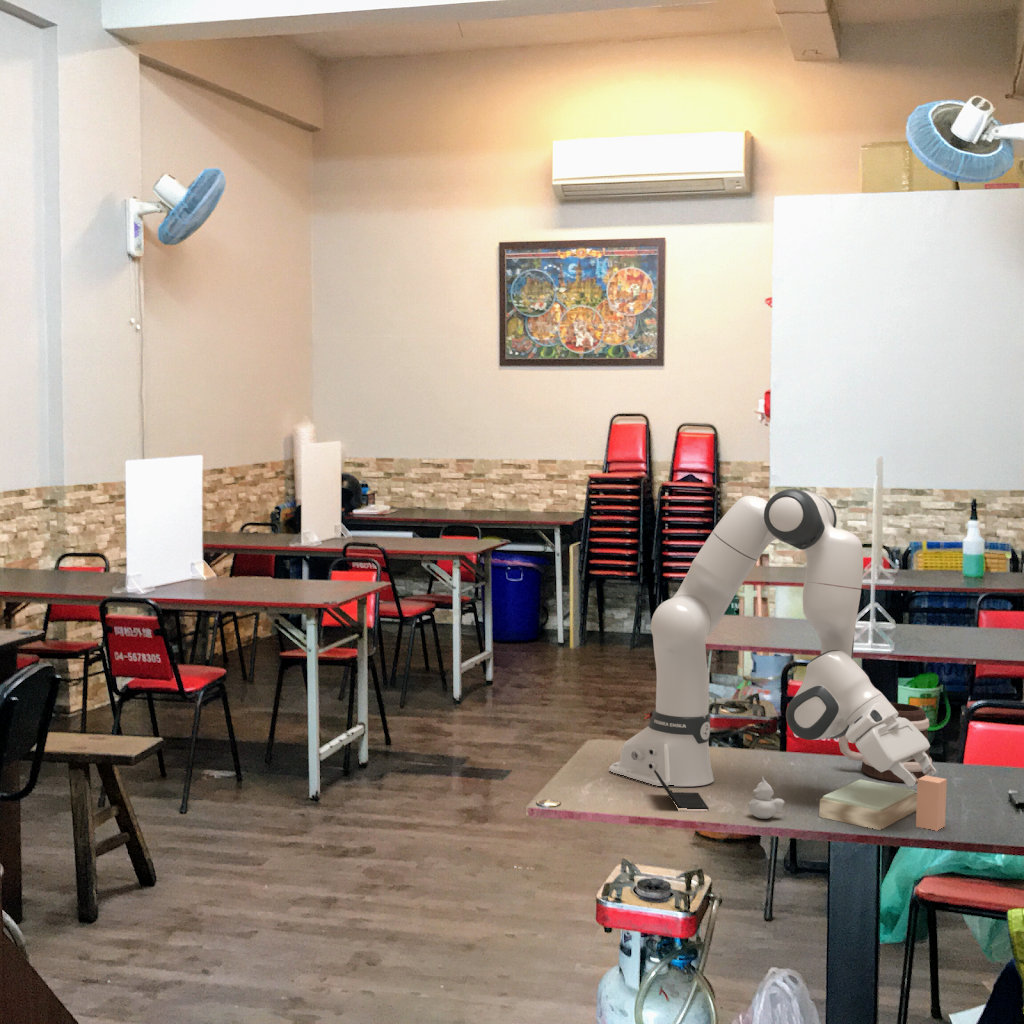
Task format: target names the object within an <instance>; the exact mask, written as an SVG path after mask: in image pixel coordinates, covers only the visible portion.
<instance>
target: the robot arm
mask: <svg viewBox="0 0 1024 1024" xmlns="http://www.w3.org/2000/svg"><path fill="white" fill-rule="evenodd" d="M837 520H838V519H837V513H836V510H835V508H834V506H833V505H832V504H831V502H830V501H829V499H826V498H825V497H824V496H821V495H819V494H817V493H815V492H813V491H809V490H802V489H797V488H788V489H783V490H781V491H778V492H776V493H775V494H773V495H772V496H771V497H770V498H769V500H766V499H764V498H761V497H759V496H755V495H745V496H741V497H740V498H739V499H738V500H737V501H736V502H735V503H734V504H733V505H732V506H731V507H730V508H729V509H728V510H727V511H726V513H725V514H724V515H723V516H722V518H721V519H720V520H719V521H718V523H717V524H716V525H715V527H714V529H712V531H711V533H710V535H708V537H707V539H706V540H705V542H704V543H703V545H702V546H701V548H700V550H699V551H698V553H697V554H696V556H695V557H694V559H693V560H692V561H691V565H690V566H689V570H688V571H687V573H686V575H685V577H684V579H683V581H682V583H681V584H680V586H679V588H678V590H677V591H676V593H675V594H674V595H672V597H671V598H668V599H667V600H665V601H663V602H662V603H660V604H659V605H658V606H657V608H656V609H655V611H654V613H653V615H652V618H651V620H650V632H651V635H652V640H653V641H652V642H653V654H654V661H655V668H656V670H655V671H656V686H655V687H656V688H655V689H656V692H655V709H653V710H651V711H649V712H648V713H644V716H645V717H644V720H648V719H649V721H648V723H647V726H646V727H645V728H643V729H642V730H641V731H639V732H638V733H636V734H635V735H633V736H632V737H630V738H629V739H628V740H626V741H625V742H624V744H623V746H622V748H621V752H620V758H619V761H616V762H614V763H612V764H611V765H610V766H609V767H608V768H609V769H608V772H609V771H611V772H614V773H618V774H620V775H624V776H627V777H630V778H633V779H637V780H640V781H644V782H646V783H650V784H652V785H651V786H653V785H657V786H662V784H661V783H660V781H659V779H658V777H657V776H656V774H655V772H654V770H656V771H657V773H658V774H659V776H660V777H661V778H662V780H663V781H664V783H665V784H666V785H667V787H669V786H668V785H674V786H673V787H699V786H706V785H709V784H712V783H713V782H714V781H715V777H714V774H713V770H712V766H711V759H710V757H711V756H710V747H709V741H710V734H711V714H710V713H709V707H710V706H709V704H710V703H709V702H710V701H709V700H710V698H709V696H710V673H709V670H708V669H709V668H708V662H707V661H708V660H707V648H706V646H707V645H706V641H707V640H708V638H709V637H710V636H711V635H712V634H713V633H714V631H715V629H716V628H717V626H718V625H719V623H720V621H721V620H722V618H723V617H724V615H725V613H726V612H727V610H728V608H729V607H730V604H731V603H732V601H733V599H734V597H735V596H736V594H737V593H738V590H739V589H740V587H741V586H742V584H743V583H744V582H745V580H746V578H747V577H748V576H749V574H750V573H751V571H752V570H753V568H754V567H755V565H756V563H757V562H758V561H759V559H760V558H761V556H762V555H763V553H764V552H765V550H766V549H767V547H768V546H770V544H771V543H773V541H775V540H779V541H780V542H783V543H785V544H786V545H787V544H788V545H790V546H791V547H794V548H795V549H798V550H801V551H803V553H804V554H805V556H806V567H805V568H806V569H805V573H804V581H803V590H802V609H803V610H802V611H803V615H804V617H805V618H806V620H807V621H808V623H809V624H810V625H811V626H812V627H813V628H814V630H815V631H816V633H817V635H818V639H819V641H820V654H819V655H817V656H815V657H814V658H812V659H811V660H810V661H809V662H808V664H807V665H806V671H805V676H804V677H803V681H802V683H801V685H800V686H799V688H798V690H797V692H796V694H795V695H794V696H793V698H792V699H791V700H790V701H789V702H788V704H787V707H786V709H785V710H786V711H785V718H786V723H787V725H788V727H789V729H790V731H791V732H792V733H793V734H794V735H795V736H797V737H799V738H800V739H802V740H806V741H816V740H817V741H818V740H825V739H827V740H829V739H831V740H834V739H839V738H840V737H842V736H844V735H845V736H846V738H847V739H848V742H849V743H850V744H855V746H856V749H857V750H858V751H859V753H861V754H862V755H863V756H864V757H865V758H866V759H867V761H868V762H869V763H870V764H871V765H872V766H873V767H874V768H875V769H877V770H878V771H880V772H884V771H886V770H888V769H890V770H891V771H892V772H893V773H894V774H895V775H896V776H898V777H899V778H901V779H902V780H903V781H904V782H905V784H906V785H907V787H913V786H914V785H916V784H918V779H917V778H916V777H915V775H914V774H913V773H910V772H909V771H908V770H907V769H906V768H905V767H903V766H904V765H903V763H904V762H906V761H909V760H911V759H913V758H914V760H915V761H916V762H917V763H918V762H919V764H920V766H921V767H922V769H923V770H922V772H923V773H924V774H925V775H927V776H932V777H934V775H935V774H936V773H937V769H936V768H935V767H934V766H932V765H933V763H932V764H931V762H930V760H929V757H928V755H927V754H926V753H925V751H926V750H927V749H928V748H929V749H930V747H931V745H930V742H929V739H928V740H927V739H926V738H925V736H924V735H923V734H922V733H921V732H920V731H919V730H918V729H917V728H916V727H915V726H914V725H913V724H912V723H911V722H910V721H909V720H908V719H906V718H901V717H898V714H899V713H898V712H897V710H896V709H895V708H894V707H893V706H892V704H891V703H892V702H890V701H889V700H888V699H887V697H886V696H885V695H884V694H883V692H881V691H880V690H879V689H878V688H876V687H875V686H874V684H873V683H872V682H871V680H870V677H869V676H868V675H867V674H866V672H865V671H864V670H863V669H862V667H860V666H859V664H857V662H856V661H855V660H854V659H853V658H854V646H855V645H854V643H855V633H856V631H855V630H856V626H857V625H856V624H857V618H858V617H857V616H858V613H859V606H860V602H861V601H860V600H861V594H862V588H863V577H864V576H863V575H864V554H863V550H864V549H863V543H862V542H861V540H860V538H859V537H858V536H857V535H855V533H852V532H850V531H847V530H845V529H840V528H836V527H837V522H838V521H837ZM611 772H610V773H611ZM614 773H613V774H614ZM620 775H619V776H620ZM624 776H623V777H624ZM627 777H626V778H627ZM630 778H629V779H630ZM633 779H632V780H633ZM637 780H636V781H637ZM640 781H639V782H640ZM646 783H645V784H646ZM650 784H649V785H650ZM657 786H656V787H657Z"/></svg>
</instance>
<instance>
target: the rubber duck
mask: <svg viewBox="0 0 1024 1024" xmlns="http://www.w3.org/2000/svg"><path fill="white" fill-rule="evenodd" d="M753 792H754V796H755V797H754V798H752V799H751V800H750V801H749V803H748V809H749V812H750V813H751V814H752V815H753V816H754V817H755V818H757V819H762V820H763V819H764V820H767V819H770V818H772V817H774V815H775V814H783V812H784V808H783V807H784V806H785V803H786V801H785V800H784V799H783V798H780V797H777V798H772V797H773V796H774V794H775V793H774V790H773V788H772V786H771V785H770V783H768V781H767V780H765V778H764V775H762V777H761V781H760V782H759V783H758V784H757V787H756V788H754V789H753Z"/></svg>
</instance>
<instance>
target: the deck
mask: <svg viewBox="0 0 1024 1024" xmlns="http://www.w3.org/2000/svg"><path fill="white" fill-rule="evenodd" d="M916 810H917V792H916V790H915V789H911V788H906V787H900V786H895V785H890V784H886V783H880V782H875V781H870V780H865V779H861V778H860V779H858V780H856V781H853V782H852V783H849V784H847V785H845V786H842V787H841V788H837V789H836V790H835V789H834V791H831V792H829V793H827V794H825V795H822V797H821V798H820V799H819V813H818V815H819V816H818V817H819V818H823V819H827V820H832V821H837V822H842V823H846V824H850V825H855V826H859V827H864V828H867V827H868V828H867V829H872V828H873V830H878V831H882V830H884V829H886V827H889V826H890V825H893V824H895V823H896V822H898V821H899V820H901V819H904V818H905V817H907V816H910V815H911V814H913V813H916ZM881 829H882V830H881Z"/></svg>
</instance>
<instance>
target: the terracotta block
mask: <svg viewBox="0 0 1024 1024" xmlns="http://www.w3.org/2000/svg"><path fill="white" fill-rule="evenodd" d="M947 782H948V779H947V778H942V777H938V776H927V775H925V776H923V777H921V778H919V779H918V782H917V783H916V784H917V786H916V787H917V789H916V791H917V792H916V793H917V810H916V811H915V813H916V814H915V815H916V816H915V828H918V827H921V828H920V829H923V828H926V829H925V830H928V829H931V830H930V831H932V830H935V831H934V832H939V831H940V830H939V829H941V828H942V829H944V828H945V827H946V810H947V805H946V804H947V786H948V785H947V784H948V783H947ZM943 827H944V828H943ZM942 829H941V830H942ZM938 830H939V831H938Z"/></svg>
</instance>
